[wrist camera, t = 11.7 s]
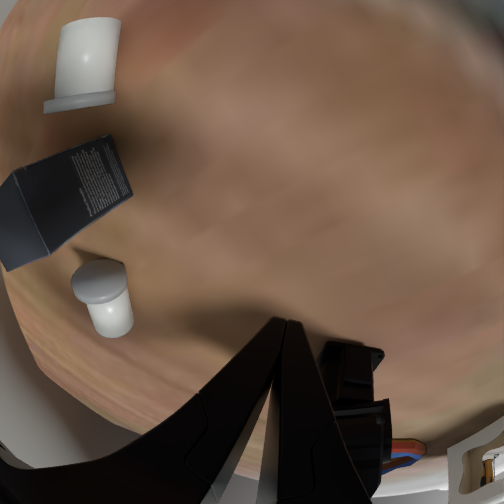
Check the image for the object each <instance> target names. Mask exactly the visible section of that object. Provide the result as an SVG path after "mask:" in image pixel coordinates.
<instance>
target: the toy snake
mask: <svg viewBox="0 0 504 504" xmlns="http://www.w3.org/2000/svg"><path fill="white" fill-rule="evenodd" d="M426 452H427V448H426V447H425V446H424V445H423V444H422V443H420V442H418V441H416V440H414V439H392V452H391V458H396V457H399V458H396V459H394V460H391V461H390V462H389V463H383V464H382V475H383V474H386V473H388V472H390V471H392V470H394V469H396V468H401V467H406V466H410V465H412V464H413V463H415V462H416V461H418V460H419V459H421V457H422V456H423V455H425V454H426Z"/></svg>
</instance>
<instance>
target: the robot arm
mask: <svg viewBox="0 0 504 504" xmlns="http://www.w3.org/2000/svg"><path fill="white" fill-rule="evenodd" d="M286 322H287V323H286ZM384 357H385V354H384V351H381V350H375V349H369V348H363V347H358V346H352V345H347V344H342V343H337V342H332V341H329V342H326V343H325V345H324V347H323V349H322V351H321V353H320V355H319V357H318V359H317V361H316V360H315V358H314V355H313V352H312V349H311V346H310V344H309V341H308V338H307V335H306V332H305V330H304V327H303V324H302V323H301V322H300V321H295V320H286V319H285V318H280V317H275V316H274V317H272V318H271V319H270V320H269V321H268V322H267V323H266V324H265V325H264V326H263V327H262V328H261V329H260V330H259V331H258V332H257V333H256V335H255V336H254V337H253V338H252V339H251V340H250V341H249V342H248V343H247V344H246V345H245V346H244V347H243V348H242V349H241V350H240V351H239V352H238V353H237V354H236V355H235V356H234V357H233V358H232V359H231V360H230V361H229V362H228V363H227V364H226V365H225V366H224V367H223V368H222V369H221V370H220V371H219V372H218V373H217V374H216V375H215V376H214V377H213V378H212V379H211V380H210V381H209V382H208V383H207V384H206V385H205V386H204V387H203V388H202V389H201V390H199V394H198V393H196V394H195V395H194V396H193V397H192V398H191V399H190V400H189V401H188V402H187V403H185V404H184V405H183V406H182V407H181V408H180V409H178V410H177V411H176V412H175V413H174V414H172V415H171V416H170V417H168V418H167V419H166V420H164V421H163V422H161V423H160V424H159V425H157V426H156V427H154V428H153V429H151V430H150V431H148V432H147V433H145V434H143V435H142V436H140V437H139V438H137V439H136V440H134V441H132V442H131V443H129V444H128V445H126V446H124V447H123V448H121V449H119V450H117V451H116V452H114V453H112V454H110V455H107V456H105V457H102V458H99V459H96V460H92V461H86V462H81V463H76V464H70V465H63V466H56V467H48V468H37V469H35V468H33V467H31V466H29V465H28V464H26V463H24V462H23V461H21V460H19V459H18V458H16V457H15V456H14V455H13V454H12V453H11V452H10V451H9V449H8V448H6V446H5V445H4V444H3V443H2V442H1V441H0V504H217V503H218V502H219V500H220V498H221V497H222V495H223V493H224V491H225V489H226V487H227V485H228V483H229V481H230V479H231V477H232V474H233V473H234V471H235V468H236V466H237V464H238V462H239V460H240V458H241V456H242V454H243V451H244V449H245V447H246V445H247V443H248V440H249V438H250V436H251V434H252V431H253V429H254V427H255V425H256V422H257V420H258V418H259V415H260V413H261V411H262V408H263V406H264V403H265V401H266V399H267V396H268V393H269V391H270V388H271V392H270V400H269V409H268V417H267V425H266V433H265V441H264V449H263V457H262V464H261V471H260V478H259V485H258V492H257V499H256V504H372V502H371V500H370V498H371V497H372V496H373V494H374V493H375V491H376V490H377V488H378V487H379V485H380V483H381V475H382V463H389V462H390V460H391V452H392V424H391V413H390V403H389V398H388V399H383V400H380V401H374V387H373V383H374V381H373V372H374V370H375V369H376V368H377V366H378V365H379V364H380V362H381V361H382V360H383V358H384ZM272 381H273V382H272ZM271 384H272V386H271Z"/></svg>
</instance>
